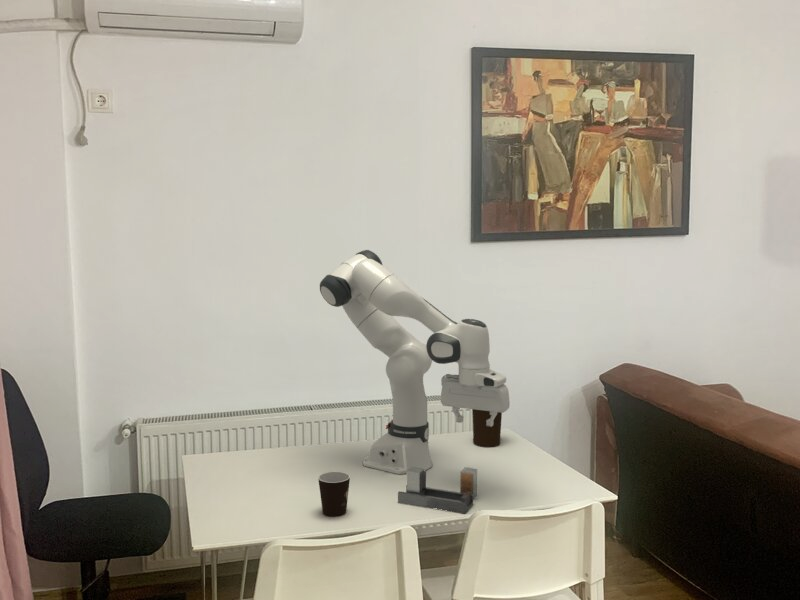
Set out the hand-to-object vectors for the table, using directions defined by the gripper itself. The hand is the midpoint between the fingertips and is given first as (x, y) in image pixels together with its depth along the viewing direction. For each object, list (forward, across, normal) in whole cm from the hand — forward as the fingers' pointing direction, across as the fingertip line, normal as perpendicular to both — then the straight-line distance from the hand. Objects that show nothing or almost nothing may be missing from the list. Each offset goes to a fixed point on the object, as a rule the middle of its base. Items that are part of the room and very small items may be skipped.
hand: (474, 423), depth 220 cm
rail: (+21, -7, -11) cm, 25 cm away
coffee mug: (+21, -28, -29) cm, 45 cm away
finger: (+21, -1, -2) cm, 21 cm away
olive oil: (+21, -17, +47) cm, 54 cm away
